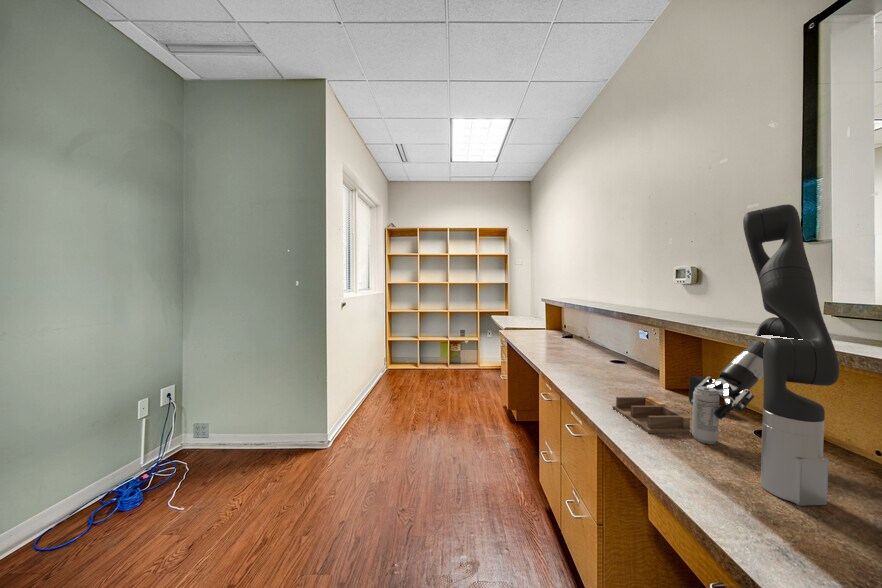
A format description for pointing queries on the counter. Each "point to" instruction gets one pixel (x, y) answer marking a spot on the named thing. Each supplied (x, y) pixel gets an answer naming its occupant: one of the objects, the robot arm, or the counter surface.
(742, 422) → the counter surface
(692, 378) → the electronic device
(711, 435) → the energy drink can
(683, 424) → the divided wooden tray
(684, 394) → the counter surface
